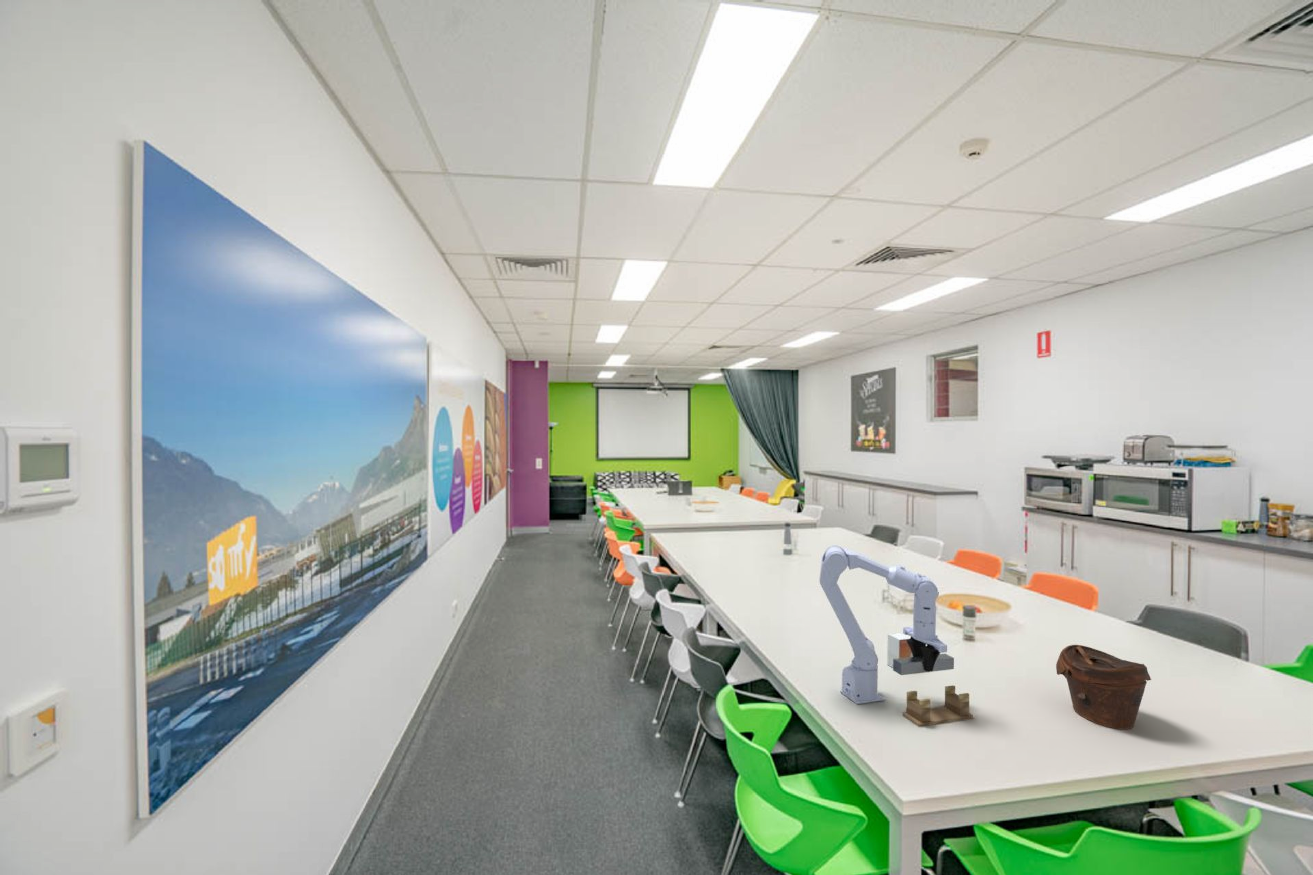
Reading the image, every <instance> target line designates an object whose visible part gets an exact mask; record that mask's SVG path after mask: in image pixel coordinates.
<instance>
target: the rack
mask: <svg viewBox="0 0 1313 875" xmlns="http://www.w3.org/2000/svg"><path fill="white" fill-rule="evenodd" d="M905 710H906V711H903V712H902V713H901V715H902V716H903V717H904V718H906V719H907V721H909V722H911V723H912V724H914V725H916V726H917V727H919V728H921V727H928V726H933V725H940V724H944V723H945V724H946V723H951V722H958V721H965V720H969V719H974V714H972V713H970V693H969V692H966V693H965V692H964V693H959V694H957V693H956V685H954V684H953V685H947V686H944V705H942V706H937V707H931V699H930V698H923V699H918V691H917V690H911V691H910V690H909V691H906V708H905Z"/></svg>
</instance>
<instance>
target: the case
mask: <svg viewBox="0 0 1313 875" xmlns="http://www.w3.org/2000/svg"><path fill="white" fill-rule="evenodd" d="M1055 668H1056V675H1058V676H1059V675H1062V676H1064V678H1065V679H1066V681H1067V685H1068V690H1069V695H1070V699H1071V703H1072V708H1073V710H1074V711H1075V713H1077V714H1078V715H1079V716H1081V717H1083V718H1084V719H1086V720H1087V721H1090V722H1093V723H1095V724H1098V725H1101V726H1104V727H1107V728H1112V729H1119V730H1127V729H1132V728H1133V727H1134V726H1135V723H1136V720H1137V717H1138V713H1139V711H1140V707H1141V704H1142V703H1141V702H1142V699H1143V696H1144V693H1145V688H1146V686H1147V683H1148V681H1151V680H1152V678H1151V676H1150V673H1149V671H1148V668H1147V665H1145V664H1144V663H1139V662H1133V661H1129V660H1126V659H1121V658H1119V657H1116V656H1115V655H1112V654H1110V653H1108V652H1105V651H1102V650H1099V649H1096V648H1094V647H1093V648H1092V647H1089V646H1086V645H1082V644H1070V645H1067V646H1065V647H1064V648H1063V649H1062V650H1061V651H1060V653H1059V656H1058V658H1057V661H1056V664H1055Z"/></svg>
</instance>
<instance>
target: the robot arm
mask: <svg viewBox="0 0 1313 875" xmlns="http://www.w3.org/2000/svg"><path fill="white" fill-rule="evenodd" d="M820 563H821V564H820V571H819V572H820V573H819V584H820V587H821V588H822V590H823V592H824V595H825V596H826V598H827V600H828V602H829V604H830V606H831V607H832V608H831V609H833V611H834V613H835V615H836V618H837V619H838V622H839V624H840V625H841V627H842V629H843V632H844V633H845V636H846V638H847V639H848V642H849V644H850V646H851V649H852V652H853V655H854V657H853V659H852V660H851V663H850V665H848V666H845V667H844V668H843V669H842V674H841V676H842V677H841V689H840V693H842V694H843V695H845V697H847V698H848V699H850V700H851V701H852V702H854V703H855V704H856V705H861V704H868V703H875V702H880V701H885V698H884V697H883V696H881V695H880V694H879V693H878V687H879V686H878V678H879V676H878V675H879V672H878V671H879V670H878V669H879V668H878V662H879V658H878V655H877V653H876V650H875V646H874V642H873V641H871V640H870V639H868V638H867V636H866V635H865V633H864V631H863V630H862V628H861V626H860V624H859V623H858V620H857V619H856V617H855V615H854V613H853V610H852V609H851V607H850V606H849V603H848V602H847V599H846V597H845V596H844V593H843V591H842V590H841V588H840V585H839V584H838V581H839V580H840V576H841V575H842V574H843V572H845V571H846V569H849V571H850V570H854V569H861V570H865V571H867V572H869V573H872V574H873V575H874V574H875V575H878V576H880V577H882V578H885V579H886V582H887V584H888V585H890V586H893V587H895V588H897V589H900V590H902V591H905V592H906V593H909V594H914V595H913V597H914V598H913V612H912V613H913V618H912V619H913V620H912V621H913V624H912V625H913V626H912V627H910V626H903V627H902V629H903V630H902V633H903V634H905V635H909V636H911V638H910V639H907V643H908V645H909V647H910V649H911V652H912V655H913V657H917V656H923V657H924V668H925V671H926V672H925V673H930V672H929V671H933V668H934V664H935V662H936V659H937V657H938V656H939V654H944V653H947V652H948V645H947V644H946V643H944V642H943V641H941V640H940V639H939V638H938V637H939V635H937V634H936V632H937V631H936V626H937V625H936V624H937V623H936V622H937V620H936V619H937V606H936V602H937V598H938V597H939V594H940V592H939V591H938V587H937V585H936V584H935V583H934V581H933V580H931V579H930V578H929V577H927V576H925V575H922V574H920V573H919V572H918V573H914V572H912V571H910V570H907V569H906V567H905V566H903V565H899V566H898V565H893V566H890V567H889V566H887V565H885V564H882V563H880V562H878V561H876V560H873V559H872V558H869V557H867V556H865V555H862V554H861V553H858V552H856V551H853V550H851V549H848V548H844V549H843V547H841V546H839V545H830V546H829V547H827V548H826V549H825V551H824V553H823V555H822V556H821V562H820ZM933 672H934V671H933Z"/></svg>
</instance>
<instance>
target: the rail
mask: <svg viewBox="0 0 1313 875" xmlns="http://www.w3.org/2000/svg"><path fill="white" fill-rule="evenodd" d="M954 668H955V657H953V656H951V655H949V654H947V653H940V654H939V656H938V657H937V659H936V662H935V664H934V668H933V671H929V672H928V673H931V672H933V673H934V672H940V671H941V672H942V671H949V670H954ZM892 671H894V672H895V673H897V674H898V675H900V676H905V675H913V674H924V673H927V672H926V671H925V668H924V657H923V656H917V657H908V658H898V659H893V668H892Z"/></svg>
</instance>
